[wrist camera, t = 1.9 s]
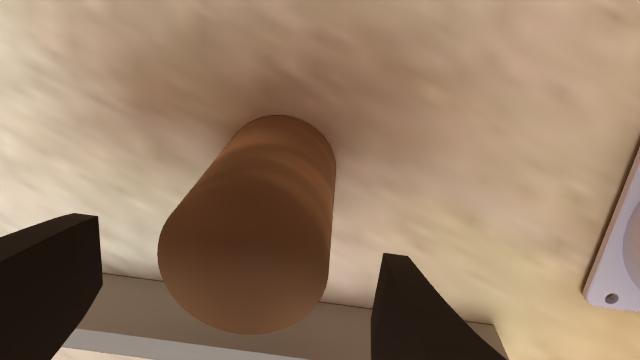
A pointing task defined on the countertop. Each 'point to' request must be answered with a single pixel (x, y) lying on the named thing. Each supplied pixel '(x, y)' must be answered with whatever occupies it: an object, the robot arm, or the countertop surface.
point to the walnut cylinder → (254, 230)
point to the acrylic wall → (213, 344)
